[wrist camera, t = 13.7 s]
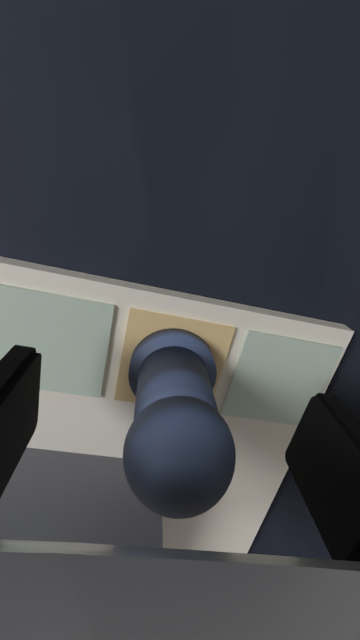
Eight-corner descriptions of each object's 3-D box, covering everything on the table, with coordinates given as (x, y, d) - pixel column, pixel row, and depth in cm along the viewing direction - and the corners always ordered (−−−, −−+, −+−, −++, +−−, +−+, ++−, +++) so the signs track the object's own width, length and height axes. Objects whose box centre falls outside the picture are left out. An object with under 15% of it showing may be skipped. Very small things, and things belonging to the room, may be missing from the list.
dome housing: (-15, 442, 14) (-80, 536, 10) (161, 462, 15) (162, 552, 12) (-13, 554, 17) (-62, 659, 13) (134, 563, 18) (127, 661, 15)
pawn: (137, 320, 12) (119, 438, 6) (223, 336, 13) (279, 458, 7) (123, 394, 13) (98, 547, 8) (201, 405, 14) (233, 556, 8)
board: (-314, 194, 10) (-361, 194, 9) (344, 324, 14) (357, 333, 13) (-197, 524, 16) (-219, 544, 15) (237, 554, 20) (241, 571, 19)
